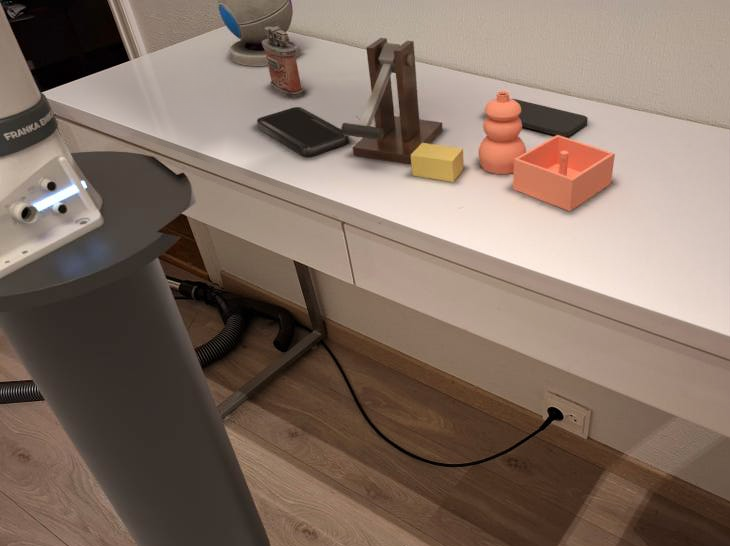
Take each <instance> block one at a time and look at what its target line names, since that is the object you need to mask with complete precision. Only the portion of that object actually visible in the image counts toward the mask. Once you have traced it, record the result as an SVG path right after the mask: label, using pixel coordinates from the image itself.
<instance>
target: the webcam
mask: <svg viewBox="0 0 730 546" xmlns="http://www.w3.org/2000/svg"><path fill="white" fill-rule="evenodd" d="M217 6H218V11H219V15H220V17H221V20H222V22H223V24H224V25H225V26H226V28H227V30H229V31H230V33H231V34H232V35H233V36H235V37H236V38H237V39H238V41H236V42H234V43H233V44H232V45H231V46H230V48H229V53H230V58H231V60H232V61H233V62H234V63H235V64H238V65H243V66H248V67H249V66H252V67H253V66H254V67H257V66H258V67H263V66H268V63H267V59H266V54H265V49H264V48H263V46H262V41H263V40H265V39H268V38H267V35H266V32H265V28H266V27H277V26H278V27H279V28H280V30H281V31H284V32H286V33H287V32H288V30H289V29H290V26H291V23H292V20H293V19H292V18H293V15H294V13H293V12H294V11H293V10H294V9H293V2H292V0H217ZM287 43H289V44H291V45H292V46H294V47H295V50H296V54H295V56H296V58H297V57H299V56H300V53H301V52H300V48H299V46H298V45H297V44H296V43H295V44H294V42H292V41H289V42H287Z"/></svg>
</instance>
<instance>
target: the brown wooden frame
mask: <svg viewBox="0 0 730 546" xmlns="http://www.w3.org/2000/svg"><path fill="white" fill-rule="evenodd" d="M385 43H388V39H387V38H386V37H380V38H378V39H377V40H375V41H373V42H372V43H370V44H369V45H368V46H366V47H365V48H366V56H367V65H368V73H369V82H370V83H369V84H370V91H371V92H370V93H372V91H373V89H374V86H375V84H376V81H377V79H378V76H379V74H380V71H381V69H382V66H381V64H380V62H379V56H380V54H381V51H382V49H383V46H384V44H385ZM394 59H395V70H396V73H395V80H396V81H395V82H396V90H397V102H398V113H399V116H398V115H395V109H394V108H395V107H394V96H393V87H392V78H391V77H392V76H390V78H389V81H388V83H387V86H386V88H385V91H384V93H383V96H382V99H381V101H380V104H379V106H378V109H377V111H376V114H375V116H374V125H375V126H374V127H379V128H382V129H383V130H384V137H383V139H382V140H374V139H367V138H361V139H360V140H358V142H357V143H355V144H354V145H353V146H352V153H353V156H355V157H360V158H368V159H374V160H378V161H379V160H381V161H387V162H393V163H399V164H407V165H411V154H412V153H413V152H414V151H415V150H416V149H417V148H418V147H419V146H420V145H421V144H422V143H428V144H432V143H433V142H434V141H435V140H436V138H437V137H438V136H439V135H440V134H442V133H443V131H444V130H443V122H442V121H436V120H435V121H434V120H427V119H421V118H420V112H419V97H418V85H417V70H416V56H415V42H414V40H405V41H404V42H403V43H402V44H400V46H399V47H398V48H397V49H395V50H394Z"/></svg>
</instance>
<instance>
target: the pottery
mask: <svg viewBox="0 0 730 546" xmlns="http://www.w3.org/2000/svg"><path fill="white" fill-rule="evenodd" d="M513 99H514V98H510V92H509V91H506V90H501V91H497V92H496V97H495V98H493V99H490V100H489V101H488V102H487V103H486V104H485V106H484V109H483V111H484V114H485V115H487V116H486V117H485V119H484V121H483V124H482V128H483V132H484V133H485V135H486V136H485V137H484V138H483V139H482V141H481V142H480V144H479V147H478V159H479V162H480V166H481V168H482V169H483V170H485V171H486V172H489V173H491V174H498V175H509V174H513V177H512V178H513V181H512V183H513V184H512V189H513V190H514V191H517V192H519V193H521V194H523V195H527V196H530V197H532V198H535V199H537V200H540V201H542V202H545V203H548V204H550V205H552V206H554V207H558V208H561V209H563V210H565V211H568V212H572V211H573V210H574V209H576V208H578V207H579V206H581V204H583V203H584V202H586V201H587V200H589V199H590V198H593V196H595V195H596V194H598V193H599V192H601V191H603V190H604V189H606V188H607V187H608V186H610V185H611V184H612V180H613V173H614V163H615V157H616V153H614V152H612V151H609V150H605V149H603V148H599V147H596V146H594V145H590V144H587V143H585V142H581V141H578V140H575V139H571V138H569V137H567V136H566V137H563V136H560V135H554V136H553V137H550V138H549V139H547V140H546V141H544V142H542V143H540V144H538V145H537V146H535V147H533V148H531V149H529V150H528V151H527V149H526V145H525V142H524V141H523V139H522V138H521V137H520V136H519V135H520V134H521V132H522V131H523V127H522V122H521V120H520V118H519V117H518V116H519V114H520V113H521V106H520V104H519V103H517V102H516V101H515V100H513Z"/></svg>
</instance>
